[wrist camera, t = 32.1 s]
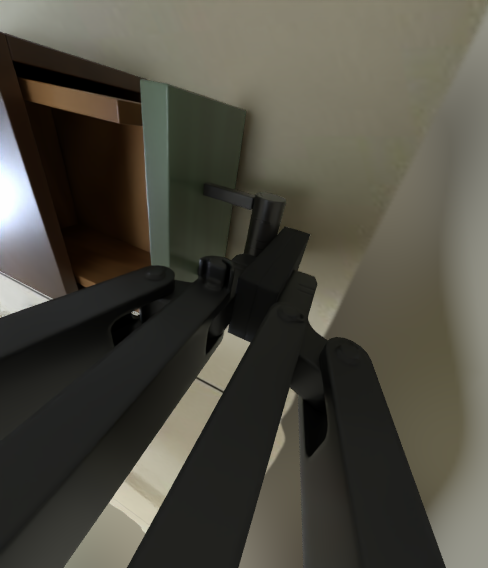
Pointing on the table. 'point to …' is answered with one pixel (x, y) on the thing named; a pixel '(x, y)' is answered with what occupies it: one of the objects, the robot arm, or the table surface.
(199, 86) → the table surface
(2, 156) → the cabinet
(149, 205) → the drawer
